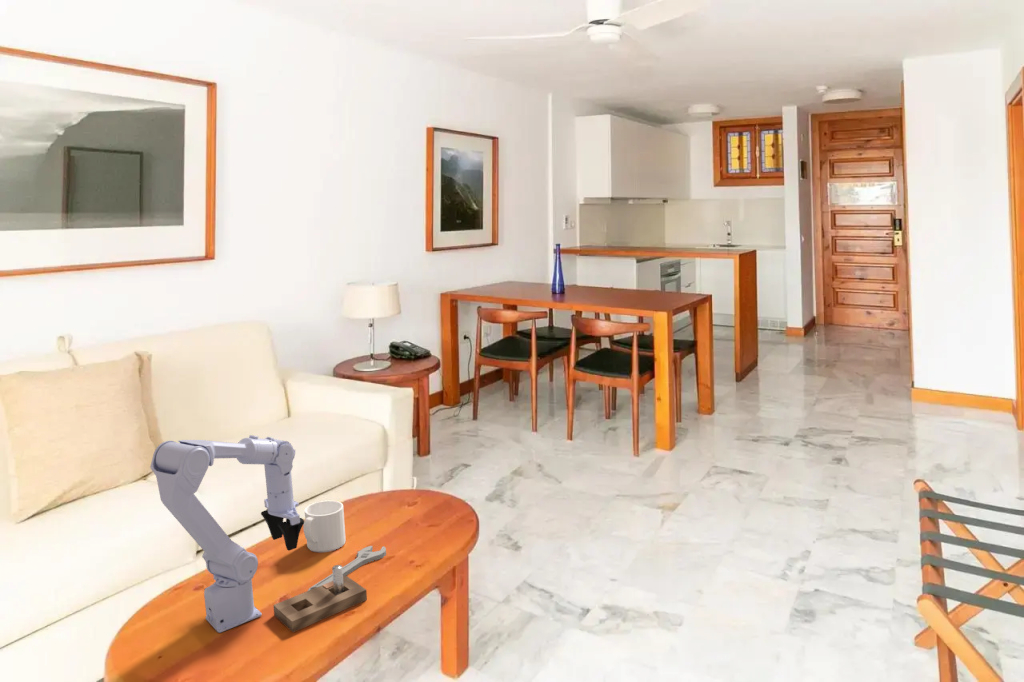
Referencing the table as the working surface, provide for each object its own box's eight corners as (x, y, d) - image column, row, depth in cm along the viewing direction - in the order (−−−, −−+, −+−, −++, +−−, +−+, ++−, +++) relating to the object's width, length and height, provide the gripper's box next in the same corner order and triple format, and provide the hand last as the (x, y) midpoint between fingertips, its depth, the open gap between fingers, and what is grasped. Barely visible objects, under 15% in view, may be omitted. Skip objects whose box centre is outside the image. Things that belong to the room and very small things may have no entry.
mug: (323, 533, 193) (321, 498, 192) (353, 539, 189) (351, 503, 188) (292, 553, 182) (289, 516, 180) (323, 560, 178) (320, 522, 176)
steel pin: (337, 603, 158) (335, 570, 156) (332, 599, 159) (330, 567, 158) (346, 599, 159) (344, 567, 158) (341, 596, 161) (339, 564, 159)
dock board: (292, 632, 147) (292, 620, 146) (274, 615, 153) (273, 604, 153) (366, 599, 159) (366, 588, 159) (346, 585, 165) (346, 574, 165)
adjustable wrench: (314, 599, 161) (313, 592, 160) (296, 591, 164) (295, 585, 164) (390, 554, 181) (389, 548, 181) (372, 548, 184) (372, 542, 184)
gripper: (310, 492, 160) (314, 547, 162) (282, 476, 170) (286, 528, 173) (281, 502, 155) (286, 558, 157) (253, 484, 165) (259, 537, 168)
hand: (284, 543), depth 165 cm, fingers open, 7 cm apart
